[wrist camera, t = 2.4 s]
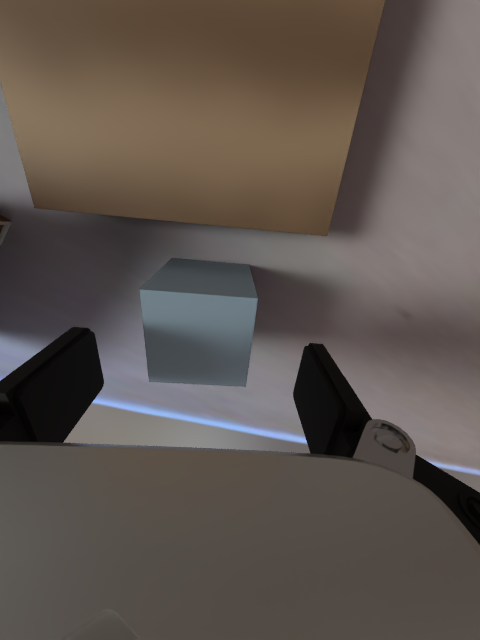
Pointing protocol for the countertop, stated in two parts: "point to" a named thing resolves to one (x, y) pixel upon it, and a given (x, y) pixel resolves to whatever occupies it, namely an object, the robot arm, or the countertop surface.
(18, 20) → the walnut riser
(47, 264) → the countertop surface
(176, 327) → the slate block
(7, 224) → the food container
